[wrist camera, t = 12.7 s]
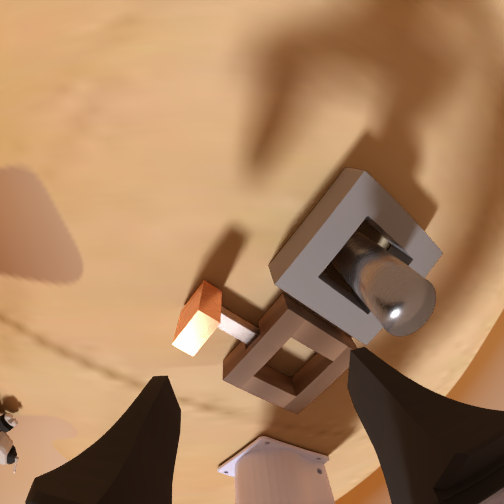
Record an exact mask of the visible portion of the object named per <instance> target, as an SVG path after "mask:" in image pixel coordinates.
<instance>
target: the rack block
mask: <svg viewBox="0 0 504 504" xmlns="http://www.w3.org/2000/svg"><path fill="white" fill-rule="evenodd" d="M364 219H365V220H366V221H367V222H368V223H369V224H370V225H371V226H372V227H373V228H375V229H376V230H377V231H378V232H379V233H380V234H381V235H382V236H383V237H384V238H385V239H386V240H387V241H388V242H389V243H390V244H391V245H392V246H391V247H390V248H389V249H388V252H390V253H391V254H392V255H394V256H395V257H397V258H398V259H399V260H401V261H402V262H404V263H405V264H406V265H408V266H409V267H410V268H412V269H413V270H414V271H416V272H417V273H419V274H420V275H421V276H423V277H424V278H425V277H426V275H427V274H428V273H429V271H430V270H431V269H432V267H433V266H434V265H435V263H436V262H437V261H438V259H439V258H440V257H441V255H442V254H443V252H442V251H441V250H440V249H439V248H438V247H437V245H436V244H435V243H434V242H433V241H432V240H431V238H430V237H429V236H428V235H427V234H426V233H425V232H424V230H423V229H422V228H421V227H420V226H419V225H418V224H417V223H416V222H415V221H414V219H413V218H412V217H411V216H410V215H409V214H408V213H407V212H406V211H405V210H404V209H403V208H402V207H401V206H400V205H399V204H398V203H397V202H396V200H395V199H394V198H393V197H392V196H391V195H390V194H389V193H388V192H387V191H386V190H385V189H384V188H383V187H382V186H381V185H380V184H379V183H378V182H376V181H375V180H374V179H373V178H372V177H371V176H370V175H369V174H368V173H367V172H366V171H365V170H360V169H354V168H348V167H345V169H344V170H343V171H342V173H341V174H340V175H339V176H338V178H337V179H336V180H335V182H334V183H333V184H332V185H331V187H330V188H329V189H328V191H327V192H326V193H325V194H324V196H323V197H322V198H321V200H320V201H319V202H318V203H317V205H316V206H315V207H314V209H313V210H312V211H311V212H310V214H309V215H308V216H307V217H306V219H305V220H304V221H303V223H302V224H301V225H300V226H299V228H298V229H297V230H296V231H295V233H294V234H293V235H292V236H291V238H290V239H289V240H288V241H287V243H286V244H285V245H284V247H283V248H282V249H281V250H280V252H279V253H278V254H277V255H276V257H275V258H274V259H273V260H272V262H271V263H270V264H269V265H268V266H269V269H270V272H271V275H272V278H273V281H274V284H275V285H276V286H277V287H279V288H280V289H282V290H283V291H285V292H286V293H288V294H289V295H291V296H292V297H294V298H295V299H297V300H298V301H300V302H301V303H303V304H304V305H306V306H307V307H309V308H310V309H312V310H313V311H315V312H316V313H318V314H319V315H321V316H322V317H324V318H325V319H327V320H328V321H330V322H331V323H333V324H334V325H336V326H337V327H339V328H340V329H342V330H343V331H345V332H346V333H348V334H350V335H351V336H353V337H354V338H356V339H357V340H359V341H360V342H362V343H363V344H365V345H367V344H368V343H369V342H370V341H371V340H372V339H373V338H374V337H375V336H376V335H377V333H378V332H379V331H380V330H381V329H382V328H383V326H382V324H381V323H380V322H379V321H378V319H377V318H376V317H375V316H374V314H373V313H372V312H371V311H370V310H369V308H368V307H367V306H366V305H365V303H364V302H363V301H362V300H361V298H360V297H359V296H358V295H357V294H356V292H355V291H354V292H353V294H351V293H350V292H349V291H347V290H346V289H345V288H343V287H342V286H341V285H339V284H338V283H337V282H335V281H334V280H333V279H331V278H330V277H329V276H327V275H326V274H325V273H323V270H324V269H325V268H326V267H327V266H328V264H329V263H330V262H331V261H332V260H333V258H334V257H335V256H336V255H337V253H338V252H339V251H340V250H341V248H342V247H343V246H344V245H345V243H346V242H347V241H348V240H349V238H350V237H351V236H352V235H353V233H354V232H355V231H356V230H357V228H358V227H359V226H360V224H361V223H362V222H363V221H364Z"/></svg>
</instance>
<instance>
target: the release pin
mask: <svg viewBox="0 0 504 504" xmlns="http://www.w3.org/2000/svg"><path fill="white" fill-rule="evenodd" d="M221 301H222V291H221V290H219V289H218V288H216V287H214V286H213V285H211V284H210V283H208V282H207V281H205V280H203V282H202V283H201V285H200V286H199V287H198V289H197V290H196V291H195V293H194V294H193V295H192V297H191V298H190V299H189V301H188V302H187V304H186V305H185V306H184V308H183V309H182V310H181V314H180V317H179V321H178V325H177V328H176V332H175V336H174V340H173V343H172V345H174V346H176V347H178V348H179V349H181V350H183V351H185V352H186V353H188V354H190V355H192V356H194V355H195V354H196V352H197V351H198V350H199V349H200V348H201V346H202V345H203V344H204V343H205V342H206V340H207V339H208V338H209V337H210V335H211V334H212V333H213V332H214V331H215V329H216V328H217V327H218V328H220V329H222V330H223V331H225V332H227V333H228V334H230V335H232V336H234V337H235V338H237V339H239V340H241V341H242V342H244V343H246V344H248V345H249V346H250V345H251V344H252V343H253V341H254V340H255V339H256V338H257V337H258V336H259V335H260V330H259V328H257V327H255V326H254V325H252V324H250V323H249V322H247V321H245V320H244V319H242V318H240V317H239V316H237V315H235V314H234V313H232V312H231V311H229V310H227V309H226V308H224V307H222V306H221Z"/></svg>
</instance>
